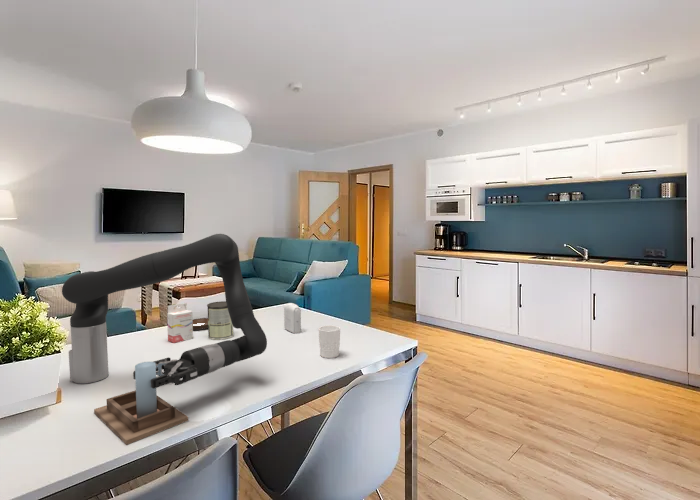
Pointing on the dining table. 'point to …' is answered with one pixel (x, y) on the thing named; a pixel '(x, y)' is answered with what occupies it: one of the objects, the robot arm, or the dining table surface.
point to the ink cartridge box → (179, 323)
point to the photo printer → (292, 318)
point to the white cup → (329, 341)
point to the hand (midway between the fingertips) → (142, 380)
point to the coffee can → (219, 321)
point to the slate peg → (145, 389)
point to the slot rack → (129, 428)
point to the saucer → (201, 320)
